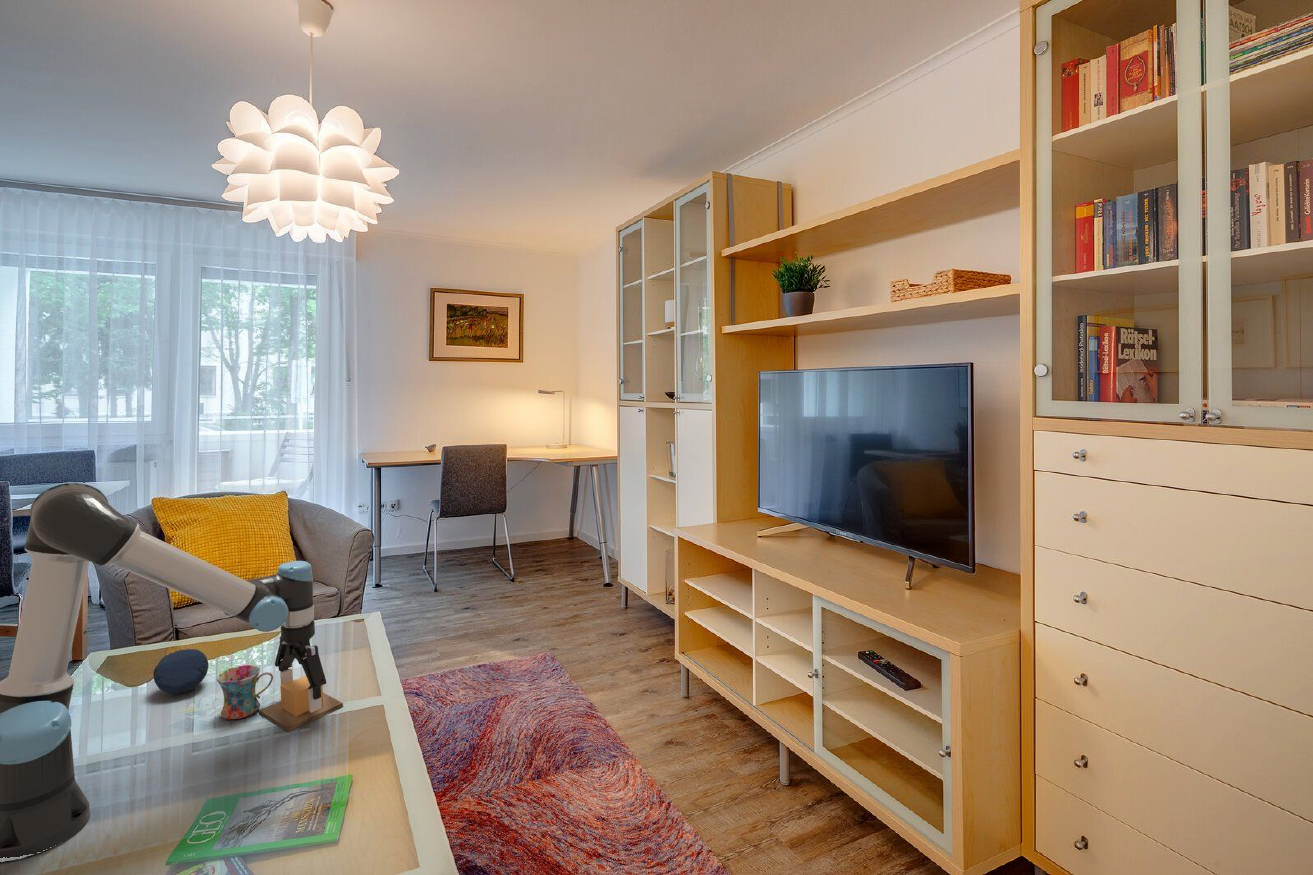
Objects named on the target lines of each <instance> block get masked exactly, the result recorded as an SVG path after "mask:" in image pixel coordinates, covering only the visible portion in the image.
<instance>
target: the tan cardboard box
mask: <svg viewBox="0 0 1313 875" xmlns="http://www.w3.org/2000/svg"><path fill="white" fill-rule="evenodd" d="M309 686H310V684H309V681H308V679H307V677H306V675H304V676H301V677H298V678H297V679H293V681H291V682H288V683H285V684H283V685H281V684H280V687H279V688H280V701H281V708H283V709H284V710H286V711H288V712H289V713H291V714H293V715H294V716H298V715H300V714H302V713H304V712H307V711H309V691H308V687H309ZM323 686H324V685H322V686H321V704H322V705H323V693H324V691H323V690H324V688H323Z"/></svg>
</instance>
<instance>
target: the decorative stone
mask: <svg viewBox="0 0 1313 875" xmlns="http://www.w3.org/2000/svg"><path fill="white" fill-rule="evenodd" d="M208 671H209V661H208V658H207V656H206V655H205V653H204V652H202V651H201V650H199V649H196V648H194V649H193V648H191V649H190V648H186V649H180V650H179V649H178V650H176V651H174V652H171V653H169V654H167V655H165V656H163V657H162V658H161V659H160V660H159V662H158V663H157V665H156V666H155V668H154V669H153V680H154V684H155V686H157V688H158V689H159V690H160V691H162V692H163V693H166V694H168V695H180V694H183V693H187V692H189V691H191V690H194V689H195V688H196V687H197V686H199V685H200V684H201V683H202V682H203V680H204V679H205V677H206V676H207V673H208Z"/></svg>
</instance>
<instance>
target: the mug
mask: <svg viewBox="0 0 1313 875" xmlns="http://www.w3.org/2000/svg"><path fill="white" fill-rule="evenodd" d="M260 672H261V667H259V666H258V665H254V664H245V665H243V664H242V665H239V666H233V667H231V668H227V669H226V670H225V669H224V670H223V671H222V672H220V673H219V674H218V675H217V676H216V681H217V683H218V684H219V686H220V688H221V690H222V695H223V706H222V709H221V711H220V716H221V718H223V719H226V720H239V719H243V718H245V717H248V716H251V715H252V714H254V713H255V712H257V711H259V710H260V707H261V702H260V701H259V700H258V699H260V698H261V696H260V695H261V694H263V693H264V692H265V691H266V690H267V689H268V688H269V686H271V683H272V682H273V681H274V676H273V673H271V672H262V673H261V674H260ZM259 674H260V675H259ZM265 675H269V676H270V681H269V682H268V684H267V685H266V686H265V687H264V688H263V689H262V690H260V691H259V692H257V693H256V688H257V687H256V684H258V683H259V680H260V678H261V677H263V676H265Z"/></svg>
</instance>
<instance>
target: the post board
mask: <svg viewBox="0 0 1313 875" xmlns="http://www.w3.org/2000/svg"><path fill="white" fill-rule="evenodd" d="M343 707H344V703H343V702H342V701H340V700H338V699H336V698H334V697H333V696H331V695H328V694H327V693H325V692H323V705H322V708H321V709H318V710H316V711H314V712H312V713H311V712H309V711H307V712H304V713H302V714H300V715H298V716H294V715H293V714H291V713H289V712H288V711H286V710H284V709H283V708H281V700H279V701H277V702H275V703H272V704H271V705H270V704H269V705H267V706H265V707H262V708H259V709H258V714H259V715H260V716H262V717H264V718H265V719H266V720H269V721H271V723H274V724H275V725H277V726H278V727H280V728H281V729H283V730H285V731H286V732H290V731H292V730H294V729H297V728H298V727H302V726H303V725H305V724H308V723H309V722H313V721H315V720H316V719H319V718H321V717H323V716H325V715H327V714H330V713H332V712H334V711H336V710H339V709H340V708H343Z"/></svg>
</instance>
